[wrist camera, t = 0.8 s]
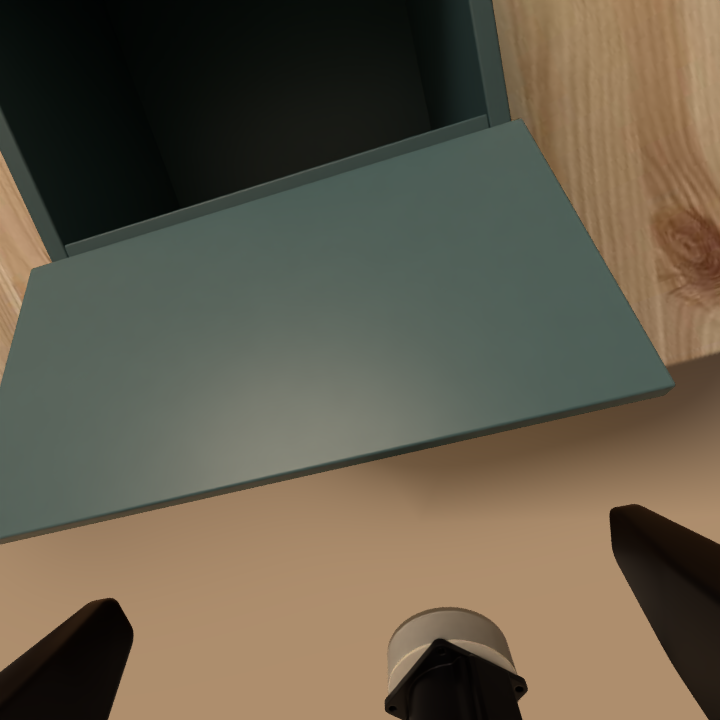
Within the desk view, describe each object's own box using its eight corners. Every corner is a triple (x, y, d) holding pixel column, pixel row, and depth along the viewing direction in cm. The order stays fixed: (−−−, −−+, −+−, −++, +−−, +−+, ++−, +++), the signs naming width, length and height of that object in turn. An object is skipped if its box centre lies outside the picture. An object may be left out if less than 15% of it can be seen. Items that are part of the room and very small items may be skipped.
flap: (522, 117, 9) (519, 133, 9) (30, 268, 10) (44, 278, 11) (677, 385, 6) (665, 395, 6) (-45, 548, 7) (-22, 550, 8)
